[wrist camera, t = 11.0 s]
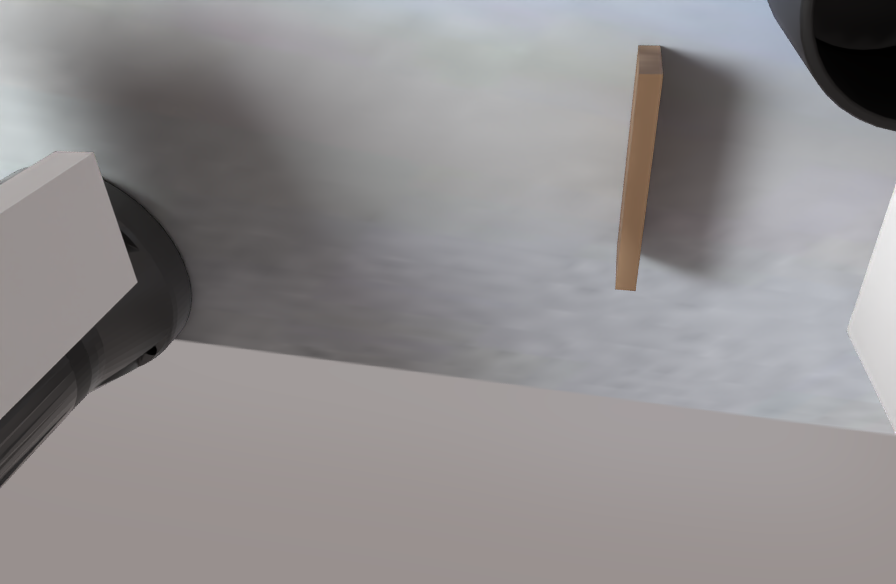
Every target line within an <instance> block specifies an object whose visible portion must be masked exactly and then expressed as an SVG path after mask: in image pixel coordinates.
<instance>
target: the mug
mask: <svg viewBox="0 0 896 584" xmlns="http://www.w3.org/2000/svg"><path fill="white" fill-rule="evenodd" d="M768 3H769V6H770V8H771V11H772V13H773V15H774V17H775V19H776V21H777V22H778V24H779V25H780V27H781V28H782V30H783V31H784V33H785V35H786V36H787V38H788V39H789V41H790V42H791V44H792V45H793V47H794V48H795V50H796V51H797V53H798V54H799V56H800V57H801V59H802V61H803V62H804V64H805V65H806V67H807V68H808V70H809V71H810V73H811V74H812V76H813V77H814V79H815V80H816V82H817V83H818V84H819V86H820V87H821V89H822V90H823V91H824V92H825V94H826V95H827V96H828V97H829V98H830V99H831V100H832V101H833V102H834V103H835V104H837V105H838V106H839V107H840V108H841V109H843V110H844V111H846V112H848V113H849V114H851V115H852V116H854V117H856V118H858V119H859V120H862V121H864V122H866V123H869V124H871V125H873V126H876V127H880V128H884V129H888V130H892V131H896V0H768Z"/></svg>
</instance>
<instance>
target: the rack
mask: <svg viewBox="0 0 896 584" xmlns="http://www.w3.org/2000/svg"><path fill="white" fill-rule="evenodd" d="M662 81H663V67H662V58H661V48H660V46H641V45H638V55H637V64H636V74H635V83H634V92H633V102H632V111H631V120H630V130H629V139H628V149H627V158H626V167H625V177H624V186H623V195H622V205H621V214H620V224H619V233H618V242H617V261H616V286H615V289H618V290H630V291H636V283H637V275H638V267H639V260H640V252H641V244H642V236H643V229H644V221H645V213H646V205H647V197H648V190H649V182H650V174H651V166H652V159H653V151H654V143H655V135H656V127H657V120H658V112H659V104H660V96H661V89H662Z"/></svg>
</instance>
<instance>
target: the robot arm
mask: <svg viewBox="0 0 896 584" xmlns="http://www.w3.org/2000/svg"><path fill="white" fill-rule="evenodd" d="M190 308H191V288H190V283H189V278H188V274H187V271H186V268H185V266H184V263H183V261H182V259H181V257H180V255H179V253H178V251H177V249H176V247H175V246H174V244H173V242H172V241H171V239H170V238H169V236H168V235H167V234H166V232H165V231H164V230H163V228H162V227H161V226H160V225H159V224H158V222H157V221H156V220H155V219H154V218H153V217H152V216H151V215H150V214H149V213H148V212H147V211H146V210H145V209H144V208H143V207H142V206H141V205H139V204H138V203H137V202H136V201H135V200H133V199H132V198H131V197H129V196H128V195H127V194H125V193H124V192H122V191H121V190H119V189H118V188H116V187H115V186H113V185H111V184H109V183H108V182H106V181H104V180H103V179H102V176H101V173H100V170H99V167H98V164H97V161H96V158H95V155H94V152H67V151H55V152H53V153H52V154H50V155H48V156H47V157H45V158H43V159H42V160H40V161H39V162H37V163H35V164H34V165H32V166H30V167H27V168H23V169H21V170H18V171H16V172H14V173H12V174H10V175H9V176H7V177H5V178H4V179H2V180H0V488H1V487H2V486H3V485H4V484H5V483H6V482H7V481H8V480H9V478H10V477H11V476H12V475H13V474H14V473H15V472H16V471H17V470H18V469H19V468H20V467H21V465H22V464H23V463H24V462H25V461H26V460H27V459H28V458H29V457H30V456H31V455H32V454H33V452H34V451H35V450H36V449H37V448H38V447H39V446H40V445H41V444H42V443H43V442H44V441H45V440H46V438H47V437H48V436H49V435H50V434H51V433H52V432H53V431H54V430H55V429H56V428H57V426H59V424H60V423H61V422H62V421H63V420H64V419H65V418H66V417H67V416H68V415H69V413H70V412H71V411H72V410H73V409H74V408H75V407H76V406H77V405H78V404H79V403H80V402H81V401H82V400H83V399H84V398H85V396H87V394H89V393H90V392H92V391H94V390H96V389H98V388H100V387H102V386H103V385H105V384H107V383H109V382H111V381H113V380H115V379H117V378H119V377H121V376H123V375H125V374H127V373H128V372H130V371H132V370H134V369H136V368H137V367H139V366H141V365H144V364H146V363H147V362H149V361H151V360H153V359H154V358H156V357H157V356H158V355H159V354H161V353H162V352H163V351H164V350H165V349H166V348H167V347H168V345H169V344H170V343H171V342H172V341H173V340H174V339H175V337H176V336H177V335H178V334H179V333H180V332H181V330H182V329H183V327H184V326H185V324H186V322H187V319H188V316H189V313H190ZM847 333H848V335H849V337H850V339H851V341H852V344H853V346H854V348H855V350H856V352H857V354H858V356H859V358H860V360H861V362H862V365H863V367H864V369H865V371H866V373H867V375H868V377H869V379H870V381H871V383H872V385H873V388H874V390H875V392H876V394H877V396H878V398H879V400H880V402H881V404H882V406H883V409H884V411H885V413H886V415H887V417H888V419H889V421H890V423H891V425H892V427H893V429H894V432H895V434H896V185H895V188H894V191H893V194H892V197H891V200H890V203H889V206H888V209H887V212H886V215H885V218H884V221H883V224H882V227H881V230H880V233H879V236H878V239H877V242H876V245H875V248H874V251H873V254H872V257H871V259H870V262H869V265H868V268H867V271H866V274H865V277H864V280H863V283H862V286H861V289H860V292H859V295H858V298H857V301H856V304H855V307H854V310H853V313H852V316H851V319H850V322H849V325H848V328H847Z"/></svg>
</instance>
